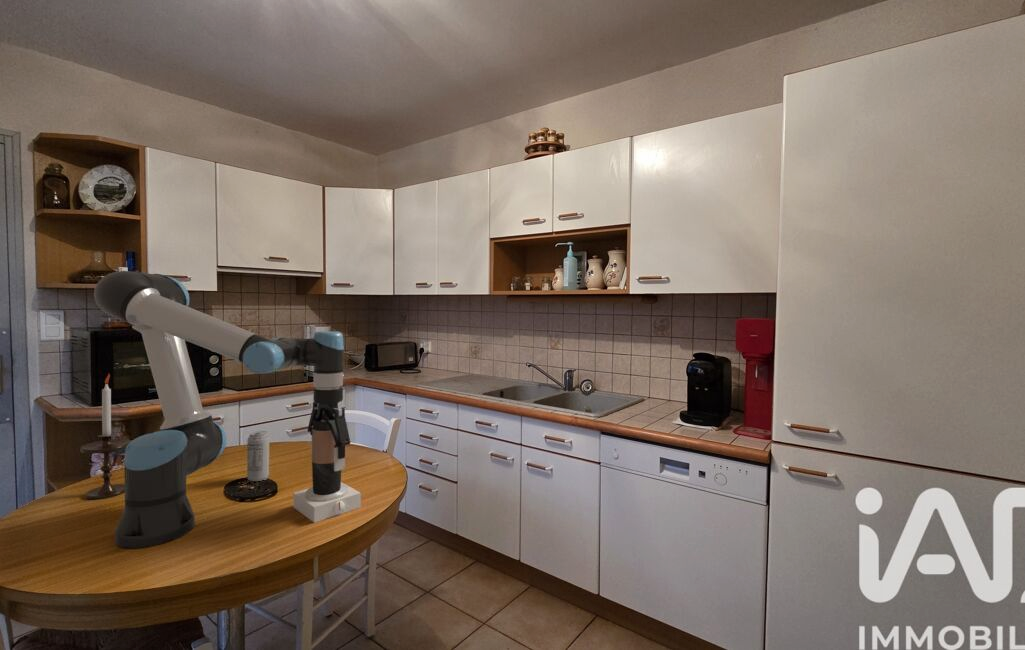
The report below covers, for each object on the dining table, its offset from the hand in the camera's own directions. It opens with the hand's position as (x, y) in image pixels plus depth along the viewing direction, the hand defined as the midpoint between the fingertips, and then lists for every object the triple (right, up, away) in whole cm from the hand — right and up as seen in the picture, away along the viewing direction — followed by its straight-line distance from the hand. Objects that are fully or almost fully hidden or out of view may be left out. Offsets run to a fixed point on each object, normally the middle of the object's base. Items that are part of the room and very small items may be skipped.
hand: (327, 463), depth 124 cm
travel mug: (0, -8, 0) cm, 8 cm away
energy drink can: (-30, -11, +19) cm, 37 cm away
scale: (0, -12, 0) cm, 12 cm away
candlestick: (-67, -11, +6) cm, 68 cm away
